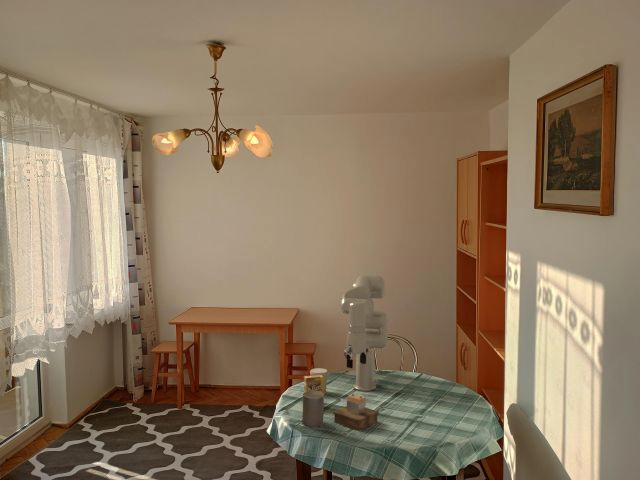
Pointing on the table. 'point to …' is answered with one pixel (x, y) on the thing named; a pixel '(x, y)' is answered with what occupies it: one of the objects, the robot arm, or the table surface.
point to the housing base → (356, 407)
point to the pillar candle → (313, 409)
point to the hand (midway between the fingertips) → (356, 365)
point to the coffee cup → (324, 373)
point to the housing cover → (356, 398)
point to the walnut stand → (355, 418)
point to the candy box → (313, 383)
